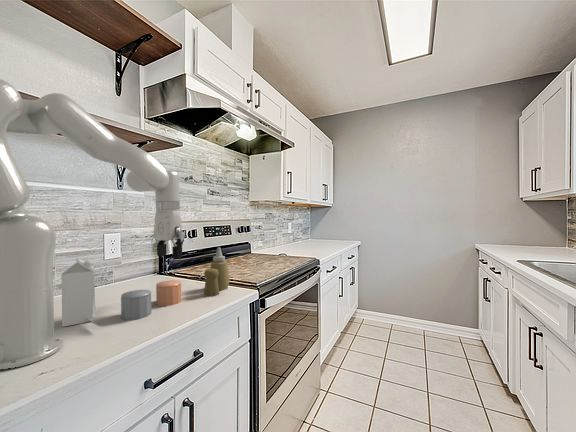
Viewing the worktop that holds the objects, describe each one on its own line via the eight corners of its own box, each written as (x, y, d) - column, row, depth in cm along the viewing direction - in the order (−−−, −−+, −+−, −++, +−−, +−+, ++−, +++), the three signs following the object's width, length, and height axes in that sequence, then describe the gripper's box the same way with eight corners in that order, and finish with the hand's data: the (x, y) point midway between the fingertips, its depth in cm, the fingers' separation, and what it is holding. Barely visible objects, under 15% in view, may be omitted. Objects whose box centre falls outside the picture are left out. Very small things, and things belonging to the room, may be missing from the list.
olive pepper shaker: (199, 299, 99) (199, 269, 98) (211, 294, 104) (211, 266, 104) (212, 301, 96) (211, 271, 96) (223, 297, 101) (223, 268, 101)
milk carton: (62, 327, 75) (60, 260, 75) (66, 319, 81) (65, 257, 81) (93, 321, 79) (92, 257, 79) (95, 314, 85) (94, 254, 85)
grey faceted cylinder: (129, 327, 75) (128, 299, 74) (117, 321, 79) (116, 294, 79) (156, 318, 81) (155, 292, 81) (143, 313, 85) (143, 288, 85)
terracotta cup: (164, 312, 86) (164, 287, 86) (152, 307, 90) (151, 284, 90) (185, 305, 92) (185, 282, 92) (173, 301, 97) (173, 279, 97)
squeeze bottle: (205, 291, 108) (205, 247, 108) (223, 287, 114) (223, 245, 113) (214, 296, 102) (214, 249, 102) (233, 291, 108) (232, 247, 107)
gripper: (144, 207, 93) (145, 256, 94) (171, 206, 83) (173, 261, 84) (164, 207, 99) (166, 253, 100) (192, 206, 89) (194, 257, 90)
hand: (169, 256), depth 92 cm, fingers open, 9 cm apart
